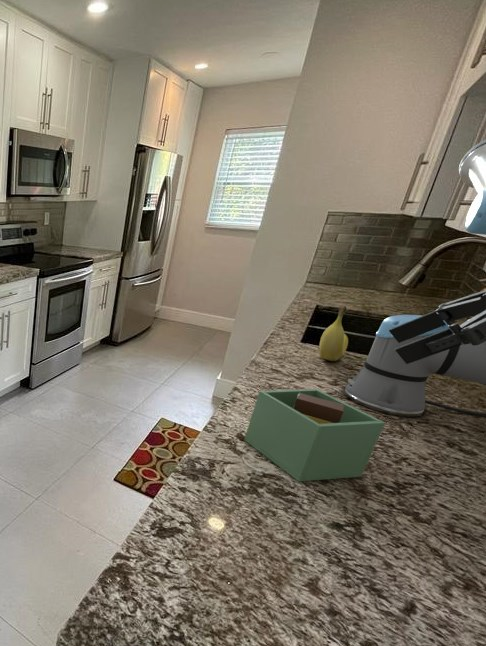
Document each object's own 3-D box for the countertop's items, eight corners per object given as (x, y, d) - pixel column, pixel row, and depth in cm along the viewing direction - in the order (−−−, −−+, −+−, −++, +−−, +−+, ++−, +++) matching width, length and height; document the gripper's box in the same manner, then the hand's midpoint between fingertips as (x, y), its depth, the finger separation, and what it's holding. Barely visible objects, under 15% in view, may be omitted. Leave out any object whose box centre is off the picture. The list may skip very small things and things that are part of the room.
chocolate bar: (280, 443, 86) (298, 392, 82) (323, 457, 82) (344, 404, 77) (278, 450, 83) (296, 398, 79) (322, 465, 79) (344, 411, 75)
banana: (326, 350, 144) (346, 294, 137) (347, 355, 140) (369, 298, 133) (309, 364, 131) (330, 304, 124) (331, 370, 127) (355, 308, 119)
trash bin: (299, 436, 90) (316, 388, 86) (361, 476, 78) (385, 422, 73) (244, 439, 88) (259, 390, 84) (298, 481, 76) (319, 426, 71)
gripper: (540, 242, 65) (377, 313, 79) (613, 257, 47) (386, 345, 62) (576, 280, 64) (404, 345, 78) (665, 310, 46) (421, 388, 60)
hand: (396, 345), depth 70 cm, fingers open, 13 cm apart
